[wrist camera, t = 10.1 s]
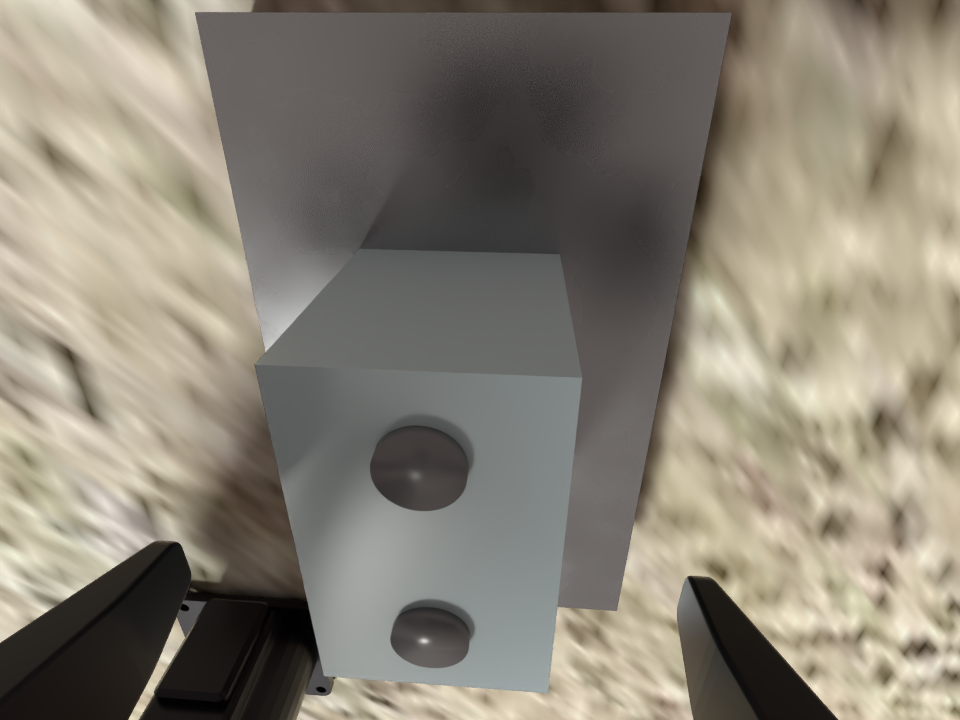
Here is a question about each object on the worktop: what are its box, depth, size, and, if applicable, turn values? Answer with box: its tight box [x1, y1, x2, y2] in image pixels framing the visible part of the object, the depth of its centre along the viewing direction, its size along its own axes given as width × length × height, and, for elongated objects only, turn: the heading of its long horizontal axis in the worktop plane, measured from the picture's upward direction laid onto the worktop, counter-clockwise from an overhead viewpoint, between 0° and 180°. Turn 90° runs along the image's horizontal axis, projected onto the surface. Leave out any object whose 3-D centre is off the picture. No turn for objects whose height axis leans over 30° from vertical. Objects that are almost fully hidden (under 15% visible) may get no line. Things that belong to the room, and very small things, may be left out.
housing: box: [255, 249, 582, 693], centre depth 13 cm, size 5×8×6 cm, turn 0°
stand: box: [195, 12, 732, 611], centre depth 16 cm, size 18×11×2 cm, turn 0°
